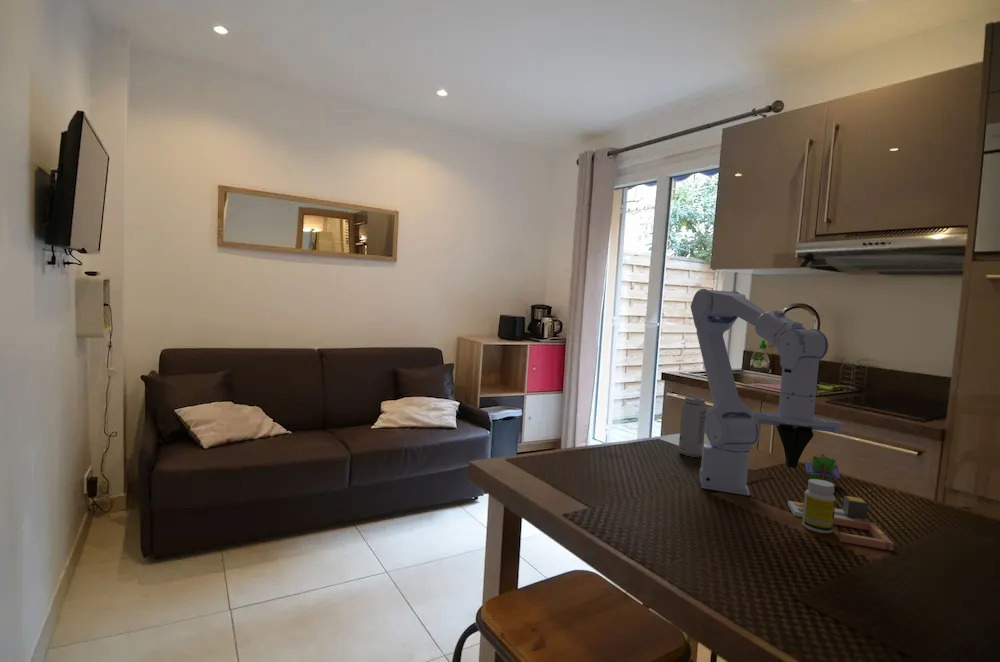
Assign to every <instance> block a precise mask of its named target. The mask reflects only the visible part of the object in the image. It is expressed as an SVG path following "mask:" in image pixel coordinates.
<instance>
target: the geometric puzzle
mask: <svg viewBox="0 0 1000 662" xmlns="http://www.w3.org/2000/svg"><path fill="white" fill-rule="evenodd" d="M836 463H837V461H836V459H833V458H831V457H828V456H827V455H826V456H825V455H824V454H822V453H821V454H820V457H819V454H818V455H816V456H813V457H811V461H810V462H808V461H807V460H806V461H804V468H805V474H806V476H807V478H809V480H810V479H819V480H824V481H828V482H830V483H832V482H833V479H837V480H835V482H837V481H839V480H841V479H842V478H841V475H840V472H839V471H840V470H839V467H838V465H837V464H836ZM809 474H810V475H809Z"/></svg>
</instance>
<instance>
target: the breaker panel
mask: <svg viewBox="0 0 1000 662" xmlns="http://www.w3.org/2000/svg"><path fill="white" fill-rule="evenodd" d="M787 505H788V507H789V508H788V509H790V511H791V512H792V515H793V516H794V517H799V518H800V517H801V518H802V517H803V507H804V502H799V501H798V502H797V501H792V500H788V501H787ZM834 516H836V517H842V518H848V519H854V520H860V521H864V520H863V518H858V517H852V516H847V515H846V513H845V512H844V511H843V508H837V507H835V512H834Z"/></svg>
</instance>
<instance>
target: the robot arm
mask: <svg viewBox="0 0 1000 662" xmlns="http://www.w3.org/2000/svg"><path fill="white" fill-rule="evenodd" d="M689 307H690V311H691V315H692V319H693V323H694V327H695V329H696V336H697V341H698V343H699V344H698V345H699V348H700V353H701V357H702V361H703V362H702V363H703V367H704V369H705V374H706V377H707V378H706V379H707V383H708V386H709V391H710V395H711V399H712V403H713V404H712V406H710V407H709V408H708V409H707V410H706V413H705V418H706V422H705V435H706V437H707V439H708V441H709V443H704V444H703V449H702V454H701V460H700V461H701V462H700V468H699V470H698V472H699V473H698V475H699V480H700V481H699V482H700V487H701V488H702V489H706V490H712V491H718V492H723V493H730V494H737V495H742V496H750V495H751V493H750V490H749V487H748V485H747V482H748V470H749V460H750V459H749V458H750V450H753V446H754V445H756V444H757V443H758V442H759V440H760V436H761V429H760V425H769V426H776V429H777V432H778V434H779V437H780V441H781V443H782V447H783V452H784V457H785V465H786V466H787V468H792V469H797V467H798V464H799V460H800V458H801V456H802V454H803V452H804V450H805V449H806V446H807V445H808V444H809V443H810V442H811V440H812V439H813V438H814V432H813V431H820V432H829V433H834V434H840V435H841V434H842V431H843V429H842V428H843V423H842V422H840V421H837V420H832V419H825V418H819V417H815V409H816V408H815V407H816V398H817V397H816V395H817V387H818V386H817V385H818V374H819V364H820V360H821V359H823V358H825V357H826V354H827V353H828V352H829V351H828V350H829V339H828V338H827V336H826V334H824V333H823V332H822V331H821V330H820V329H818V328H817V329H816V328H811V329H807V328H805V327H804V323H802V322H800V321H793V320H792V319H790V318H789V317H787V316H786V312H784V311H782V310H770V311H765V310H763V309H762V308H761V307H759V306H758V305H756V304H755V303H753V302H752V301H751V300H749V299H748V298H747V297H746V295H745V294H744V293H740V292H738V291H736V290H732V291H727V290H717V289H707V288H700V289H698V290H697V291H696V292H695V293H694V296H693V299H692V301H691V303H690V306H689ZM738 318H740V319H741V320H743V321H744V322H747V323H749V324H750V325H752V326H754V330H755V333H756V334H757V336H758V337H760V338H761V339H763V340H765V341H767V342H768V343H770V344H771V345H773V346H774V347H776V351H777V354H778V355H779V360H780V361H779V365H780V367H781V368H782V369H781V381H780V390H779V398H778V399H779V402H778V412H777V413H776V412H758V411H757V412H756V411H752V409H751V408H750V407H749V406H748V405H746V404H745V403H743V402H742V401H741V400H740V397H739V393H738V389H737V386H736V382H735V381H736V380H735V378H734V373H733V370H732V366H731V362H730V359H729V358H730V357H729V353H728V351H727V347H726V343H725V339H724V333H725V332H727V331H729V330H730V329H731V327H732V326H733V325H734V324H735V323H736V321H737V319H738Z"/></svg>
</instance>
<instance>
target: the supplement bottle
mask: <svg viewBox="0 0 1000 662" xmlns="http://www.w3.org/2000/svg"><path fill="white" fill-rule="evenodd" d="M834 493H835V484H834V483H833V482H831V483H830V482H828V481H824V480H819V479H810V478H809V479H808V481H807V489H806V490H805V492H804V497H803V503H804V507H803V517H801V518H802V519H801V524H802V526H803V527H804V528H805V529H807V530H809V531H812V532H816V533H819V534H830V533H833V530H834V524H833V522H834V512H835V508H836V502H837V500H836V496H835V495H834Z"/></svg>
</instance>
